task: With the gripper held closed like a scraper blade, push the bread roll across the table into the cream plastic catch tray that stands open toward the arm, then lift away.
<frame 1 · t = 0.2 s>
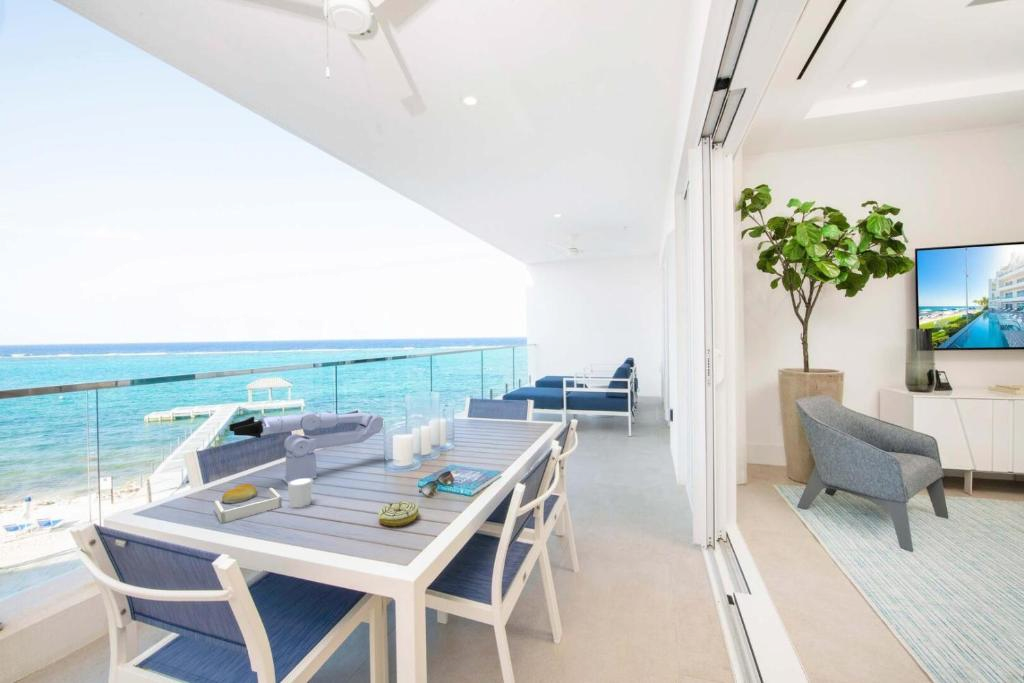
hand: (231, 429, 124), 21 cm above the table, tool horizontal, fingers open, 7 cm apart
white short cylinder: (300, 504, 116), on the table
bread roll: (240, 499, 121), on the table
decorated donut: (398, 520, 106), on the table
catch tray: (248, 508, 113), on the table
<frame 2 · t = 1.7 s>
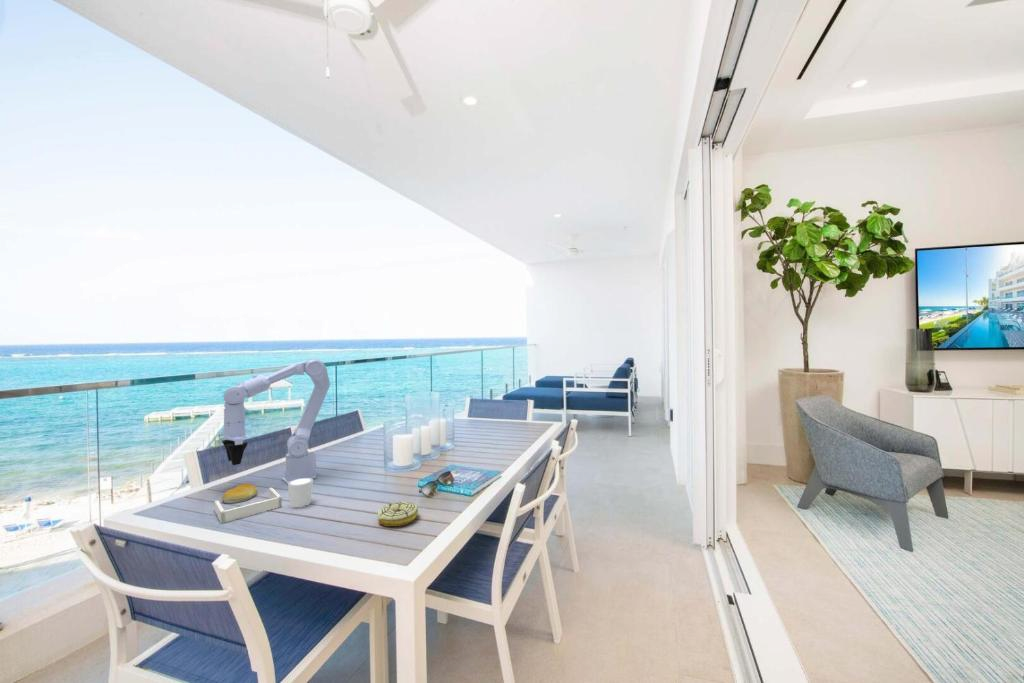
hand: (234, 462, 127), 9 cm above the table, tool pointing down, fingers open, 6 cm apart
nothing on the table moved.
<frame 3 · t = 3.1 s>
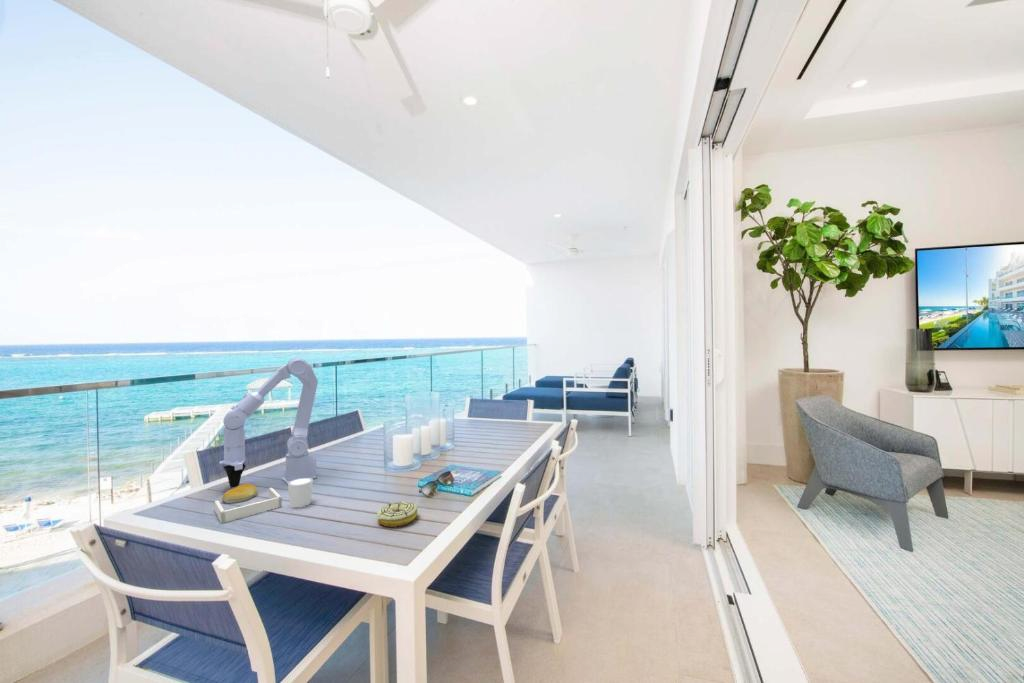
hand: (234, 486, 127), 1 cm above the table, tool pointing down, fingers closed
nothing on the table moved.
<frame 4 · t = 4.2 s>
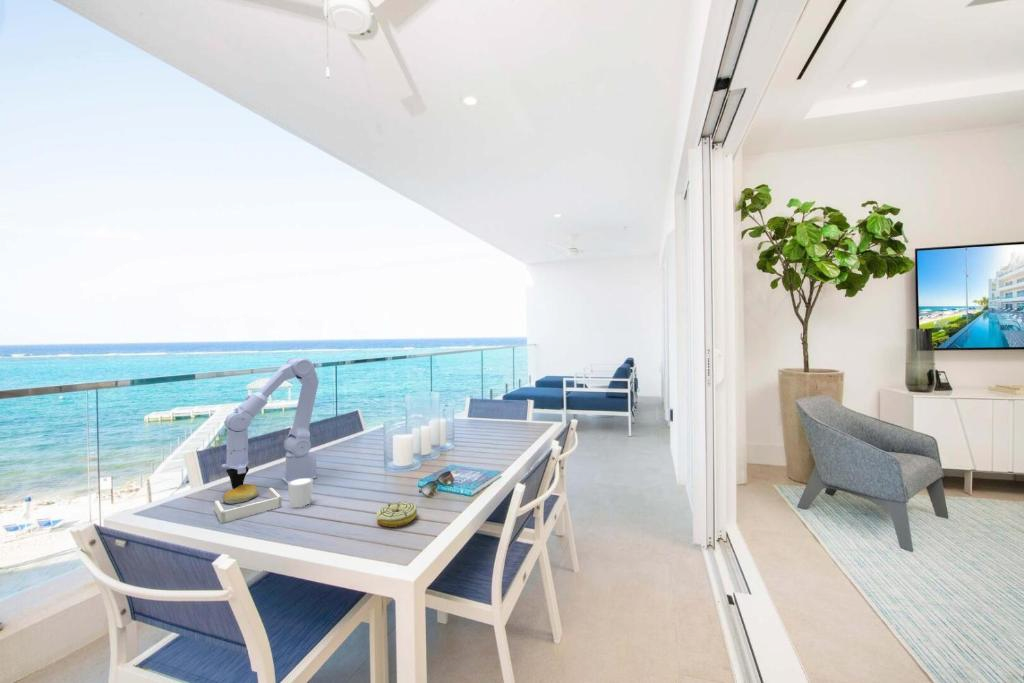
hand: (237, 490, 124), 1 cm above the table, tool pointing down, fingers closed
bread roll: (241, 499, 121), on the table, touching gripper
everything else where it was.
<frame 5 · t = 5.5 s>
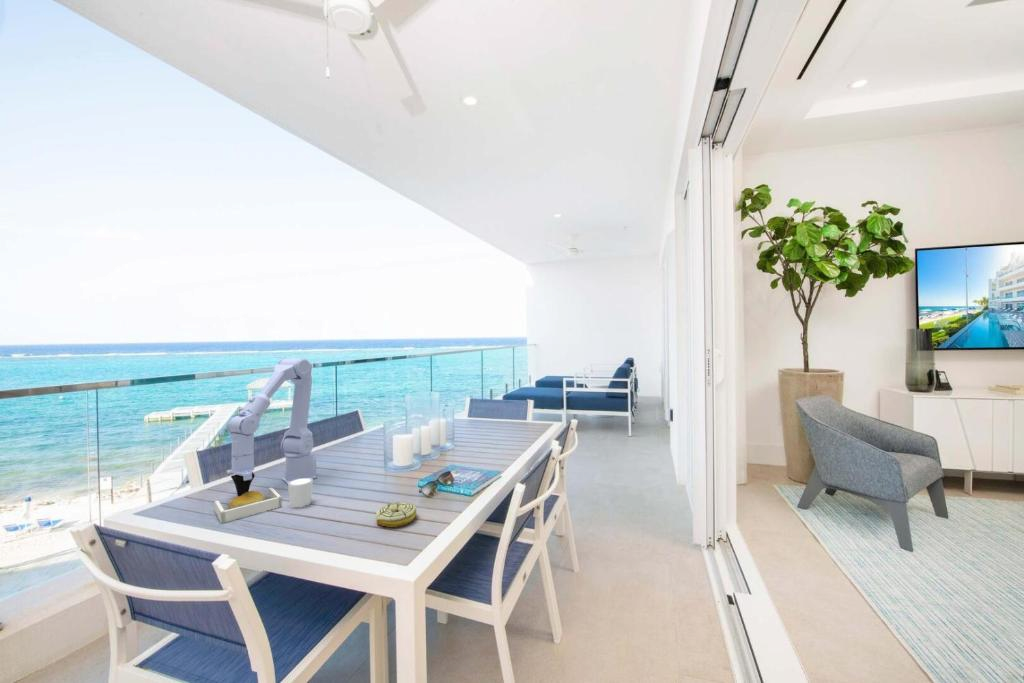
hand: (242, 497, 118), 1 cm above the table, tool pointing down, fingers closed
bread roll: (247, 507, 115), on the table, touching gripper
everything else where it was.
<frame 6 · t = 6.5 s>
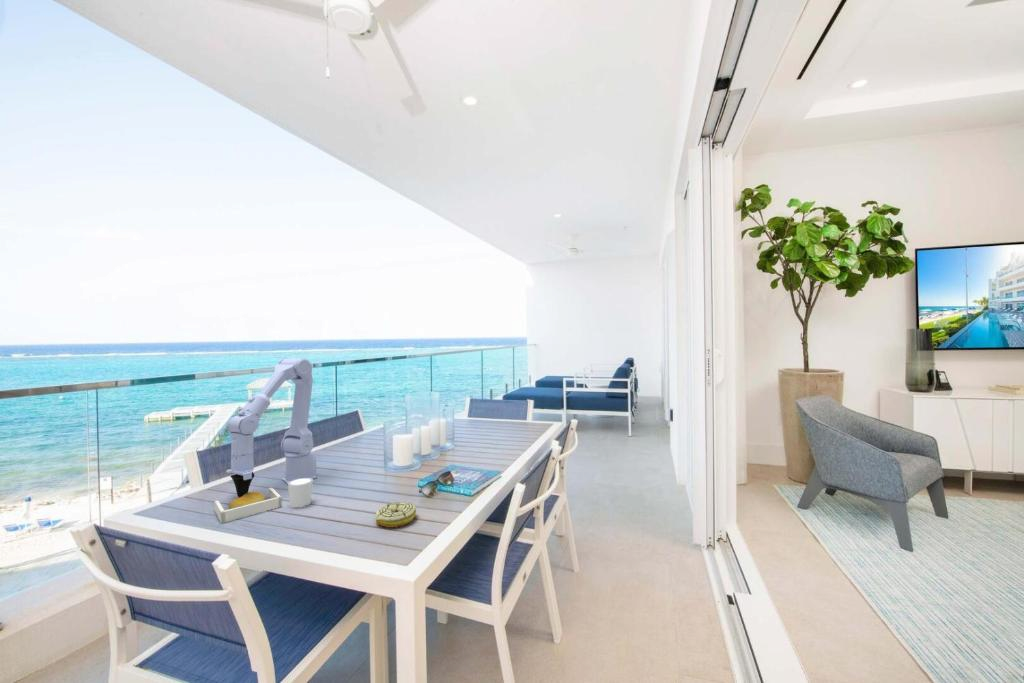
hand: (242, 496, 119), 1 cm above the table, tool pointing down, fingers closed
bread roll: (247, 508, 115), on the table
everything else where it was.
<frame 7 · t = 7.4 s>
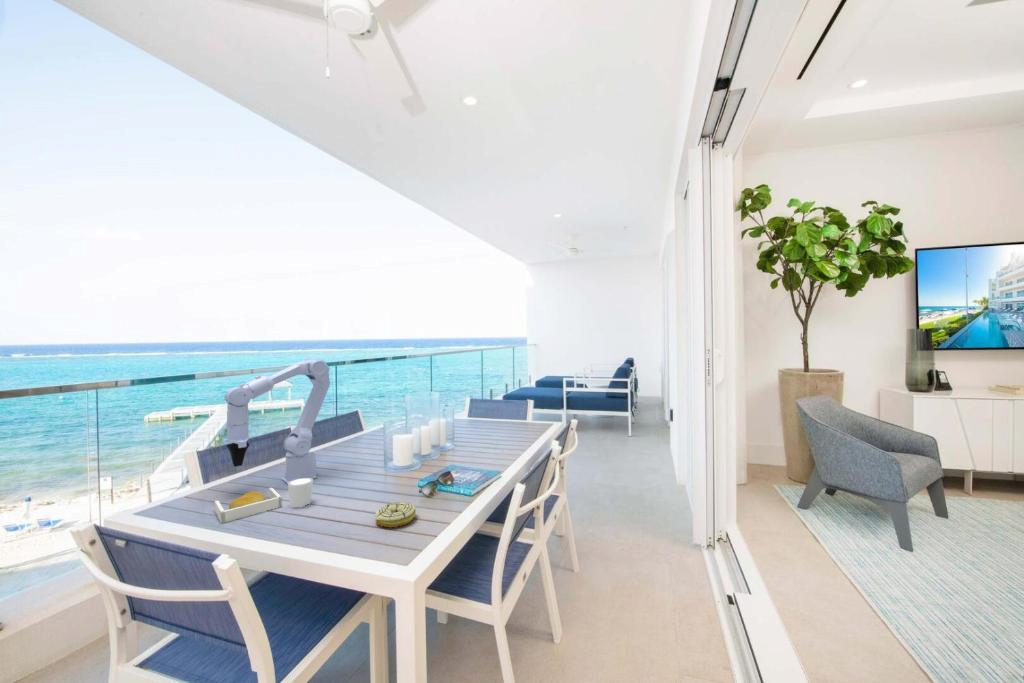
hand: (237, 465, 124), 9 cm above the table, tool pointing down, fingers closed
nothing on the table moved.
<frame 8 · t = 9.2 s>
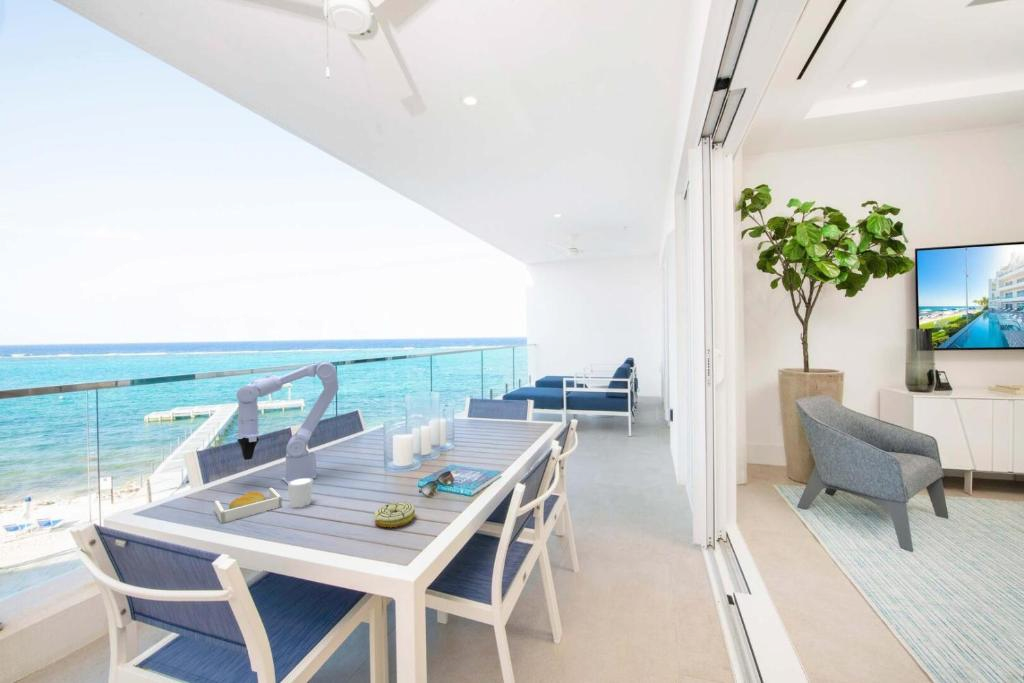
hand: (248, 459, 131), 9 cm above the table, tool pointing down, fingers closed
at the end: bread roll inside the target area (2.2 cm from its centre), on the table; bread roll moved 9.6 cm from its start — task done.
